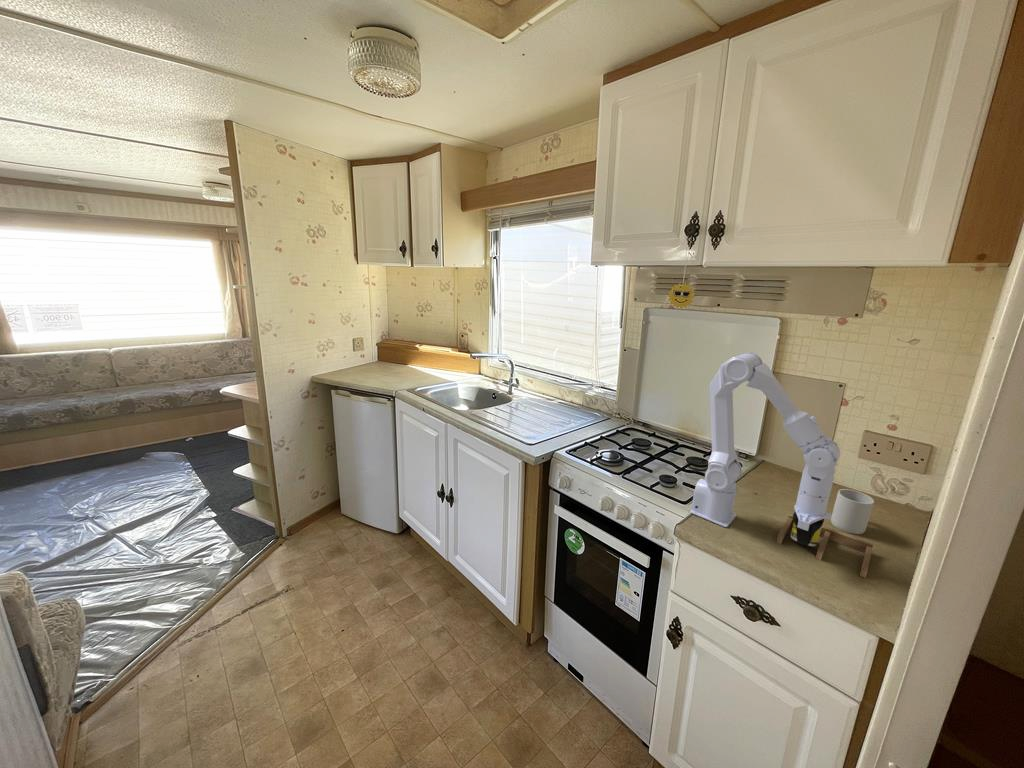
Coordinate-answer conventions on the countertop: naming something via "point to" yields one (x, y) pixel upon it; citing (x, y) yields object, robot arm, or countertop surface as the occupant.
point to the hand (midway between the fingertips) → (802, 543)
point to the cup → (851, 511)
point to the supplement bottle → (813, 540)
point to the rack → (836, 537)
